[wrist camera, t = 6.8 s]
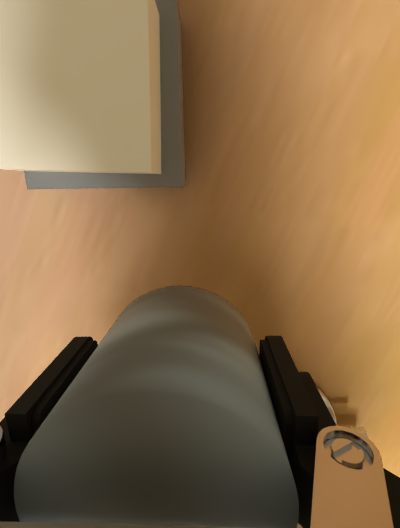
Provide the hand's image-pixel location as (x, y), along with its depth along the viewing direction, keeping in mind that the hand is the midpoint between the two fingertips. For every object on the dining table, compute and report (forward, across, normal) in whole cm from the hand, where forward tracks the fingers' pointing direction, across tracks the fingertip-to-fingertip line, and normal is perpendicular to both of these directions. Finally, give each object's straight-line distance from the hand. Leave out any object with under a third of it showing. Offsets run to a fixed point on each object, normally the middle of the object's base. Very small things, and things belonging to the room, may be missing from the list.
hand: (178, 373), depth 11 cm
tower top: (+13, +7, -13) cm, 20 cm away
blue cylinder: (+1, 0, 0) cm, 1 cm away
